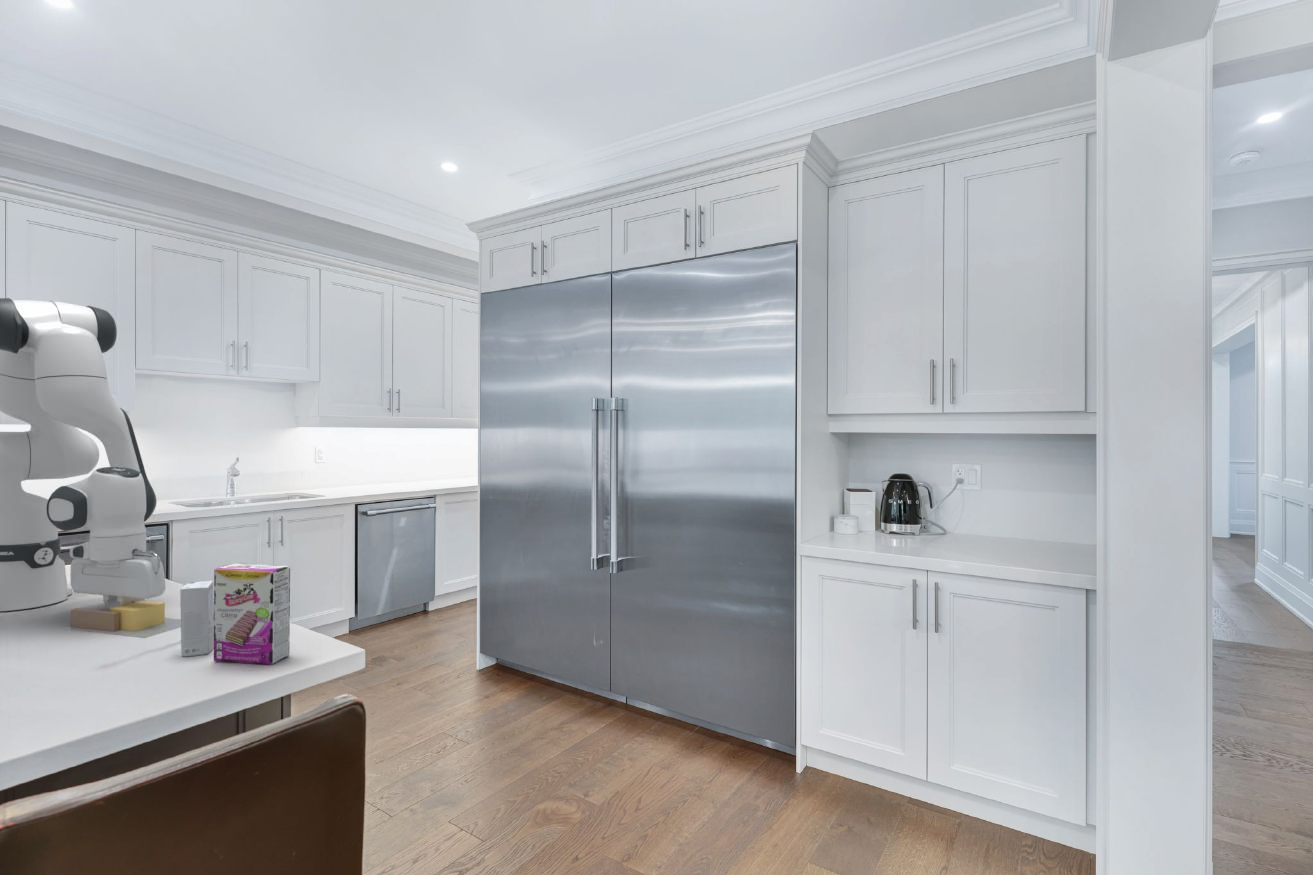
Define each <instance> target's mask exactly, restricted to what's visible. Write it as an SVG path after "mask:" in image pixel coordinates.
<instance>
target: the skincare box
mask: <svg viewBox="0 0 1313 875" xmlns="http://www.w3.org/2000/svg"><path fill="white" fill-rule="evenodd" d="M179 595H180V601H179V603H180V619H181V627H180V647H181V649H180V650H181V657H193V656H202V655H208V654H210V653H211V651H212V650H214V581H213V580H205V581H204V580H203V581H202V580H201V581H195V582H187V583H186V584H184V585H183V587H182V588H181V589H180V593H179Z"/></svg>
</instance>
